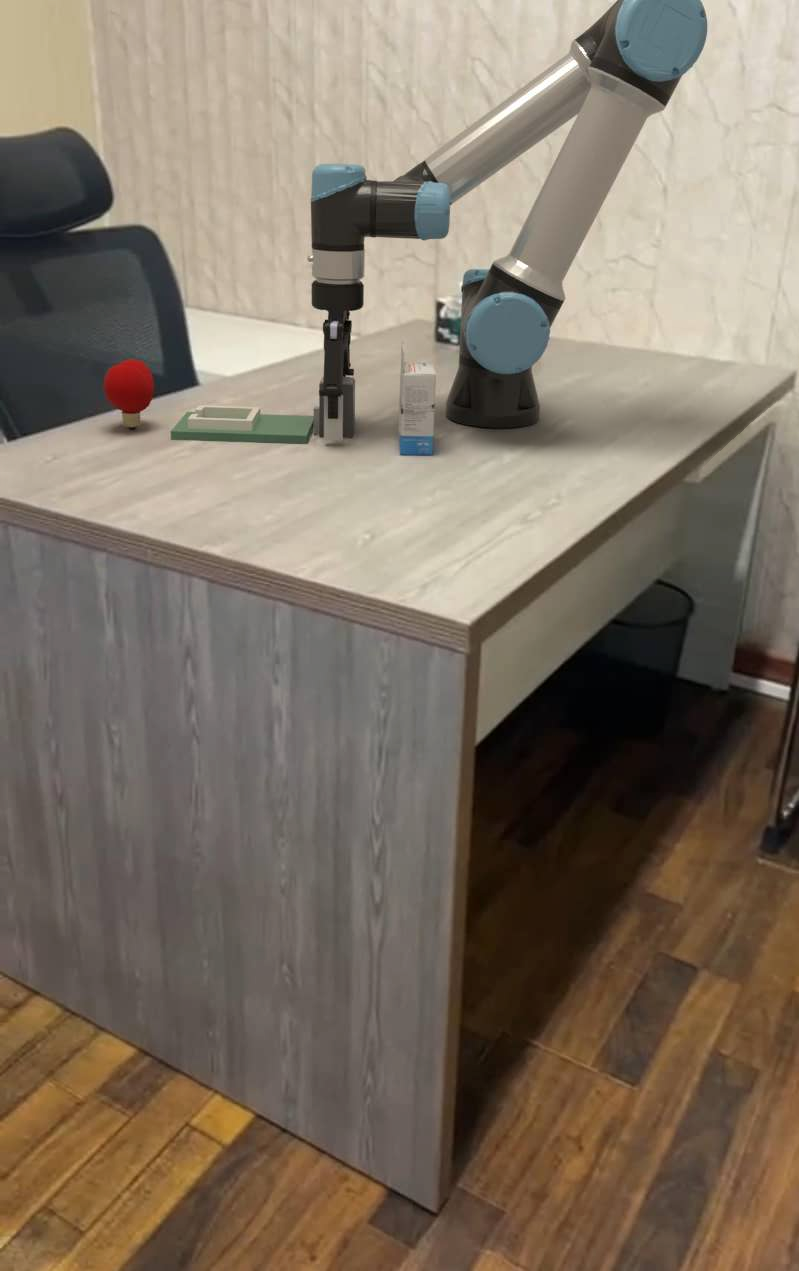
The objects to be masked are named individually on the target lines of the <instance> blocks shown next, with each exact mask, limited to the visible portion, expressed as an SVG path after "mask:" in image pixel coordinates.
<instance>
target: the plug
mask: <svg viewBox="0 0 799 1271" xmlns="http://www.w3.org/2000/svg"><path fill="white" fill-rule="evenodd" d="M323 381H324V375H323V376H322V378H321V379H320V382H319V384H318V385H319V386H318V387H319V389H318V391H319V390H322V388H323ZM329 386H337V385H329ZM342 391H343V393H342V395H343V439H353V438H354V434H355V432H356V431H355V428H356V426H355V425H356V422H355V420H356V413H355V412H356V379H355V378H354V377H353V376H352V377H351V376H346V377H343V379H342ZM318 396H319V395H318ZM318 400H319V404H318V405H317V406H316V405H315V406H313V416H314V427H313V435H314V436H319V438H324V396H319V398H318Z"/></svg>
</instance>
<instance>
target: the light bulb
mask: <svg viewBox="0 0 799 1271" xmlns="http://www.w3.org/2000/svg"><path fill="white" fill-rule="evenodd" d="M103 391H104V395H105V397H106V400H107V401H108V403H109V404H111V405H112V406H113V407H114V408H116V409H117V410H119V411H121V415H122V416H121V417H122V418H121V419H122V425H123V426H125V428H127V429H129V430H132V431H133V430H135V429H137V427H139V426H140V425H141V421H142V420H141V412H143V411H144V410H146V409H147V408H149V406H150V404H151V402H152V399H153V397H154V391H155V380H154V376H153V374H152V372H151V370H150V368H149V367H148V366H147V365H146V364H145V362H143V361H141V360H138V359H127V360H126V359H125V360H123V361H121V362H120V363H119V364H115V365H113V366H111V367H110V368H109V369H108V371H107V372H106V374H105V377H104V380H103Z"/></svg>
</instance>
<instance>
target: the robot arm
mask: <svg viewBox="0 0 799 1271" xmlns="http://www.w3.org/2000/svg"><path fill="white" fill-rule="evenodd" d="M706 13H707V12H706V9H705V6H704V4H703V2H702V0H616V1H615V2H614V3H613V4H612V5H611V6H610V7H609V9H607V10H606V11H605V12H604V13H603V15H602V16H601V17H600V18H599V19H598V20H596V22H594V23H593V24H592V25H591V26H590V27H589V28H588V29H586V30H585V31H584V32H583V33H581V34H580V35H579V36H578V37H575V39H573V40H572V41H571V43H570V48H569V52H568V53H567V54H565V55H564V56H563V57H562V58H560V59H558V61H555V63H554V64H552V65H551V66H549V67H548V68H547V69H545V70H544V71H543V72H541V73H540V74H539V75H537V76H536V77H535V78H533V79H532V80H530V81H529V82H528V83H526V84H525V85H523V87H521V88H519V89H518V90H517V91H516V92H514V93H513V94H512V95H510V96H509V97H507V98H506V99H505V100H503V101H502V102H500V103H499V104H498V105H496V106H495V107H494V108H493V109H491V110H490V111H488V112H487V113H485V114H484V115H483V116H482V117H480V118H479V119H478V120H476V121H475V122H473V123H472V124H471V125H469V126H468V127H467V128H465V129H464V130H463V131H461V132H460V133H459V134H458V135H456V136H455V137H453V138H451V139H449V141H448V142H446V143H445V144H444V145H442V146H441V147H439V148H438V149H437V150H435V151H434V152H433V153H431V154H430V155H429V156H428V157H426V158H425V159H424V160H423V161H421V162H420V163H418V164H417V165H415V166H414V167H413V168H411V169H410V170H409V171H407V172H406V173H405V174H403V175H400V176H398V177H397V178H395V179H394V180H393V181H390V180H389V181H386V180H385V181H384V180H382V181H381V180H380V181H379V180H378V181H377V180H372V179H368V177H367V175H366V168H365V166H363V165H360V164H354V163H351V164H350V163H349V164H348V163H320V164H318V165H316V166H315V167H314V169H312V173H311V191H310V192H311V194H310V195H311V196H310V214H311V215H310V222H311V223H310V224H311V225H310V228H311V231H310V232H311V233H310V234H311V253H312V254H308V255H307V258H306V259H307V261H308V262H310V263H312V265H311V276H312V277H313V278H315V280H313V281H312V282H311V306H312V307H313V309H316V310H320V311H327V318H326V319H324V321H323V323H322V332H323V334H322V335H323V350H324V351H323V352H324V355H323V356H324V357H323V358H324V359H323V361H324V362H323V376H324V381H323V388H322V390H319V389H318V396H324V437H323V440H326V441H343V440H344V438H343V395H342V393H343V391H342V379H343V377H351V376H352V377H353V376H355V368H351V366H352V365H351V364H352V363H351V355H350V354H351V352H350V351H351V350H350V347H351V346H350V345H351V338H352V337H351V336H352V335H351V333H352V328H353V326H352V325H353V322H352V320H351V319H350V316H351V312H355V311H359V310H361V309H362V308H363V307H364V303H365V302H364V301H365V300H364V298H365V296H364V294H365V293H364V292H365V291H364V290H365V288H364V287H365V285H364V283H363V281H361V280H362V279H363V278H364V277H365V258H366V257H365V256H366V255H365V252H366V250H365V238H387V239H388V238H389V239H391V238H392V239H408V240H409V239H412V240H422V241H427V240H443V239H445V238H446V237H447V236H448V235H449V231H450V219H451V205H453V204H455V203H456V202H458V201H459V200H460V199H461V198H463V197H464V196H466V195H467V194H468V193H469V192H471V191H473V190H474V189H476V188H477V187H479V186H480V185H481V184H482V183H484V182H485V181H487V180H488V179H489V178H491V177H492V176H493V175H495V174H497V173H498V172H499V171H501V170H502V169H503V168H505V167H506V166H508V165H509V164H510V163H512V162H513V161H515V160H516V159H517V158H519V157H520V156H522V155H523V154H525V152H527V151H528V150H530V149H531V148H532V147H534V146H536V145H537V144H538V143H539V142H541V141H542V140H543V139H545V138H547V137H548V136H550V135H551V134H553V133H554V132H555V131H557V129H559V128H560V127H562V126H563V125H565V124H566V123H568V122H569V121H571V120H572V119H573V118H574V117H575V120H574V122H573V124H572V126H571V128H570V130H569V132H568V135H566V138H565V140H564V142H563V144H562V146H561V148H560V151H559V152H558V154H557V157H556V159H555V160H554V162H553V163H552V166H551V168H550V171H549V173H548V174H547V177H546V178H545V181H544V183H543V184H542V187H541V189H540V191H539V193H538V195H537V197H536V199H535V200H534V203H533V205H532V207H531V209H530V211H529V213H528V215H527V217H526V219H525V221H524V223H523V224H522V227H521V229H520V231H519V233H518V235H517V237H516V239H515V241H514V244H513V245H512V247H511V249H510V252H509V253H508V254H507V255H506V256H502V257H501V258H498V259H495V260H493V262H492V263H491V266H490V267H489V269H487V268H485V269H483V268H482V269H481V268H479V269H478V268H477V269H476V268H475V269H474V268H472V269H468V270H466V271H465V272H464V274H463V276H462V278H463V279H462V284H461V286H460V291H461V306H460V307H461V311H460V328H459V329H460V332H459V333H460V334H459V335H460V336H459V357H458V368H457V372H456V374H455V377H454V380H453V382H452V384H451V387H450V390H449V393H448V396H447V398H446V401H445V402H446V403H445V416H446V417H448V418H447V419H449V420H451V421H453V422H456V423H458V424H461V425H466V426H473V427H479V428H480V427H481V428H493V429H494V428H497V429H498V428H500V429H506V428H509V429H510V428H520V427H526V426H530V425H533V424H535V423H537V422H539V420H540V413H541V412H540V410H541V405H540V400H539V397H538V392H537V391H538V390H537V388H536V384H535V379H534V375H533V366H534V365H535V364H536V363H537V362H538V361H540V359H541V357H542V356H543V354H544V353H545V351H546V349H547V347H548V343H549V340H550V334H551V328H552V325H553V324H554V322H555V320H556V318H557V316H558V314H559V312H560V310H561V308H562V306H563V304H564V302H565V301H566V295H565V290H564V286H563V282H564V280H565V277H566V275H567V273H568V272H569V271H570V270H569V269H570V268H571V266H572V264H573V262H574V260H575V258H576V256H577V255H578V252H579V250H580V248H581V246H582V245H583V243H584V241H585V239H586V237H587V235H588V234H589V231H590V229H591V227H592V225H593V223H594V222H595V220H596V218H597V216H598V214H599V212H600V209H602V206H603V204H604V202H605V200H606V198H607V196H608V195H609V192H610V190H611V189H612V187H613V185H614V183H615V181H616V179H617V178H618V175H619V173H620V171H621V170H622V167H623V165H624V164H625V162H626V159H627V158H628V156H629V154H630V152H631V150H632V148H633V147H634V145H635V142H636V141H637V139H638V137H639V135H640V133H641V131H642V129H643V128H644V125H645V123H646V122H647V119H648V118H650V117H651V116H653V115H655V114H658V113H660V112H662V111H665V109H666V107H667V105H668V103H669V102H670V99H671V98H672V97H673V94H674V92H675V90H676V89H677V86H678V84H679V83H680V81H681V78H682V77H683V75H685V74H686V73H687V72H689V71H690V69H691V68H693V67H694V66H693V65H695V63H697V61H698V59H699V58H700V56H701V55H702V54H701V53H702V51H703V50H704V47H705V44H706V42H707V41H706V40H707V36H708V18H707V14H706ZM329 385H337V386H329Z"/></svg>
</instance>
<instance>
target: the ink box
mask: <svg viewBox="0 0 799 1271" xmlns="http://www.w3.org/2000/svg"><path fill="white" fill-rule="evenodd" d="M405 352H406V351H405V345H404V341H401V353H400V354H401V356H400V357H401V358H400V375H399V376H400V378H399V379H400V380H399V381H400V382H399V405H398V408H399V410H398V411H399V412H398V435H397V436H398V441H397V442H398V451H399V455H401V456H402V455H404V456H406V455H409V456H410V455H411V456H433V454H434V435H435V433H434V430H435V412H436V411H435V408H436V387H437V386H436V384H437V381H436V379H437V374H436V368H435V365H434V363H433V362H418V361H417V362H416V361H415V362H410V361H409V362H406V361H405V356H406V355H405Z"/></svg>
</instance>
